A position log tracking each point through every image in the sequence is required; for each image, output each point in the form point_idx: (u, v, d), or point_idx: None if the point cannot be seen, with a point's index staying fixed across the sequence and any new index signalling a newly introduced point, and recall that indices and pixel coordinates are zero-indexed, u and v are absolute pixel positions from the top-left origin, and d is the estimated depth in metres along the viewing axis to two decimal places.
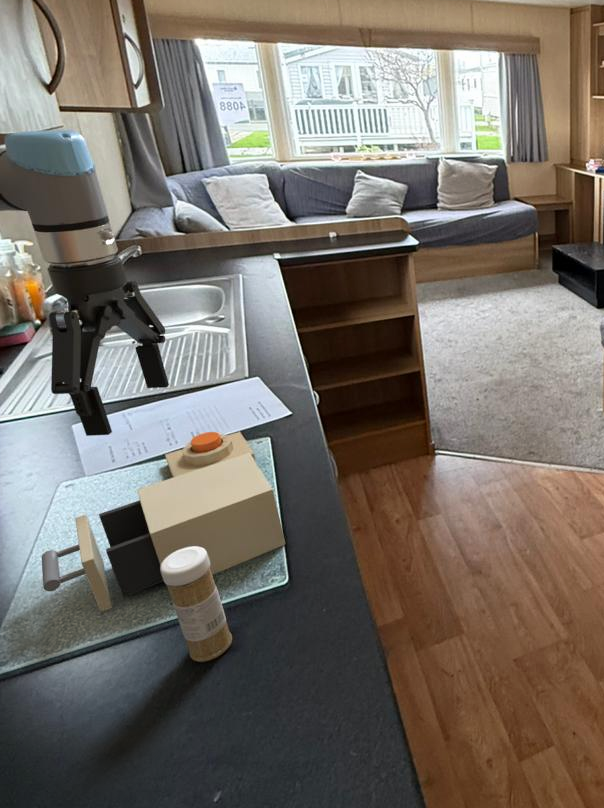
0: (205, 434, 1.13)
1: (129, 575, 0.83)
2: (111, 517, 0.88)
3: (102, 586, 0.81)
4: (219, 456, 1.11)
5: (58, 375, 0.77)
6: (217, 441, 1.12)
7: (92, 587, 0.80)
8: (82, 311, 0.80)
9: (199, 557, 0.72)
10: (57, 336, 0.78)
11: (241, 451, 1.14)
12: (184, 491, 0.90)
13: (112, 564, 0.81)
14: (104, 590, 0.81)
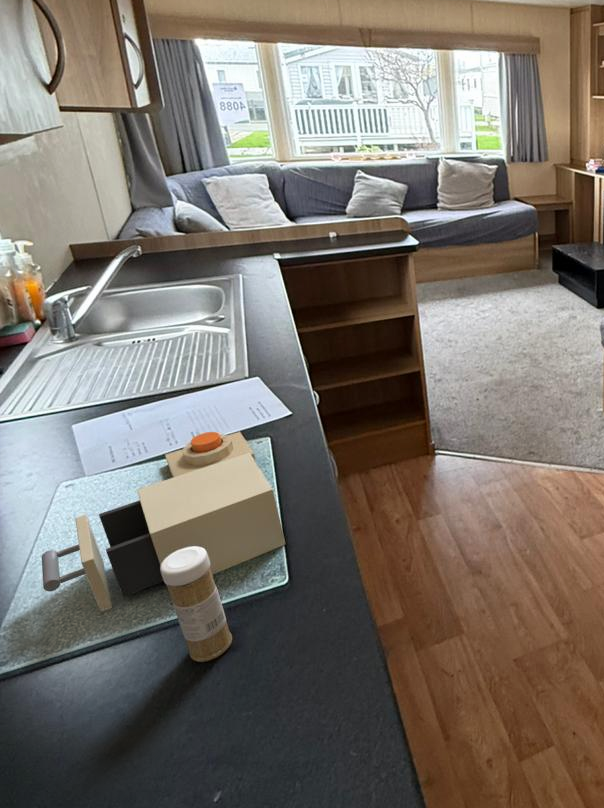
0: (205, 434, 1.13)
1: (129, 575, 0.83)
2: (111, 517, 0.88)
3: (102, 586, 0.81)
4: (219, 456, 1.11)
5: None
6: (217, 441, 1.12)
7: (92, 587, 0.80)
8: None
9: (199, 557, 0.72)
10: None
11: (241, 451, 1.14)
12: (184, 491, 0.90)
13: (112, 564, 0.81)
14: (104, 590, 0.81)
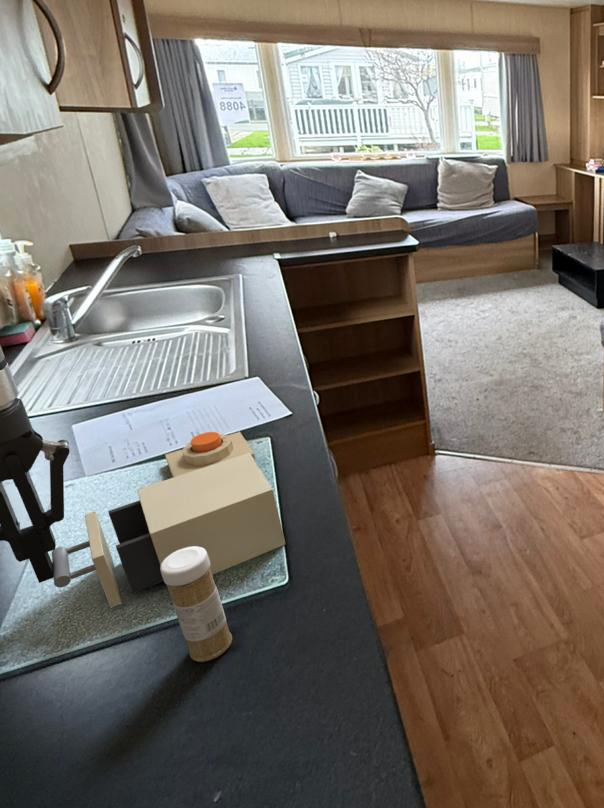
0: (205, 434, 1.13)
1: (139, 571, 0.84)
2: (120, 514, 0.89)
3: (112, 582, 0.81)
4: (219, 456, 1.11)
5: None
6: (217, 441, 1.12)
7: (102, 583, 0.81)
8: None
9: (199, 557, 0.72)
10: None
11: (241, 451, 1.14)
12: (184, 491, 0.90)
13: (122, 560, 0.82)
14: (114, 586, 0.82)
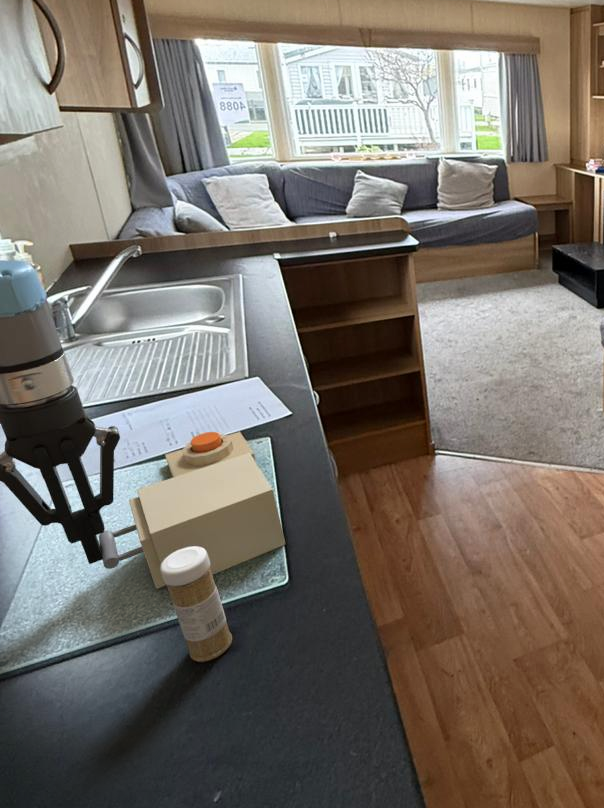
0: (205, 434, 1.13)
1: None
2: None
3: (158, 564, 0.84)
4: (219, 456, 1.11)
5: None
6: (217, 441, 1.12)
7: (149, 565, 0.84)
8: (6, 450, 0.75)
9: (199, 557, 0.72)
10: None
11: (241, 451, 1.14)
12: (184, 491, 0.90)
13: None
14: None
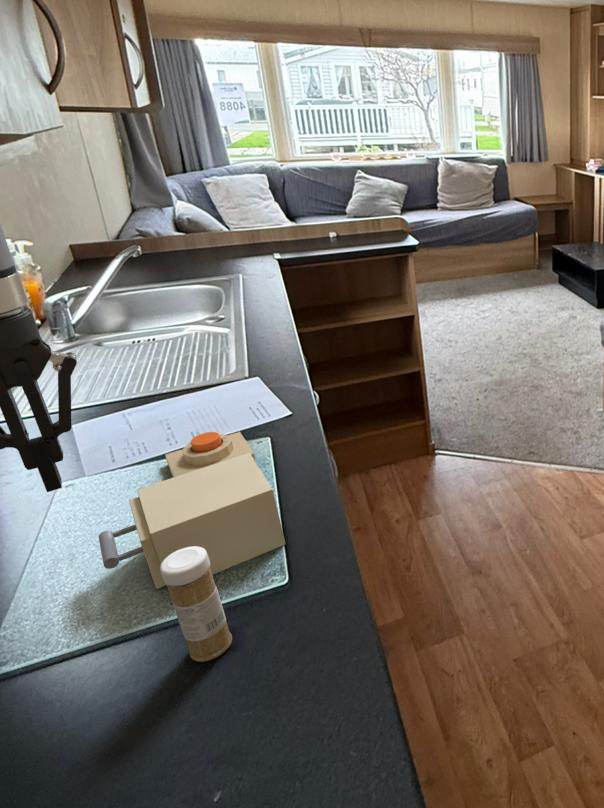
0: (205, 434, 1.13)
1: None
2: None
3: (158, 564, 0.84)
4: (219, 456, 1.11)
5: None
6: (217, 441, 1.12)
7: (149, 565, 0.84)
8: None
9: (199, 557, 0.72)
10: None
11: (241, 451, 1.14)
12: (184, 491, 0.90)
13: None
14: None
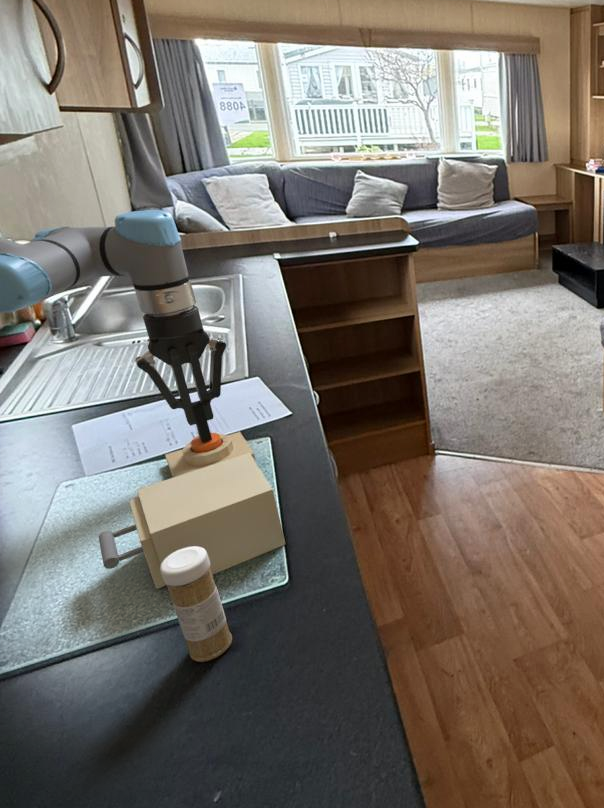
0: None
1: None
2: None
3: (158, 564, 0.84)
4: (219, 456, 1.11)
5: None
6: (218, 442, 1.12)
7: (149, 565, 0.84)
8: (150, 349, 1.02)
9: (199, 557, 0.72)
10: None
11: (241, 451, 1.14)
12: (184, 491, 0.90)
13: None
14: None
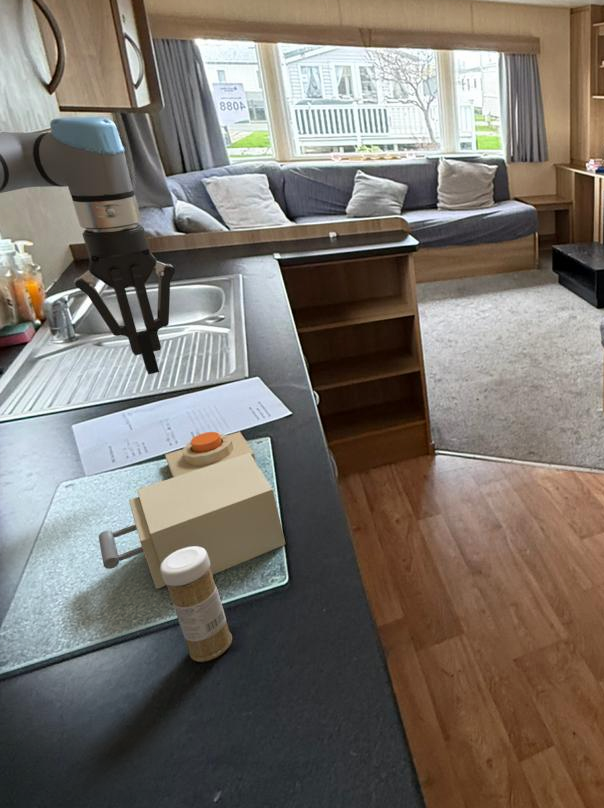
0: (205, 434, 1.13)
1: None
2: None
3: (158, 564, 0.84)
4: (219, 456, 1.11)
5: None
6: (217, 441, 1.12)
7: (149, 565, 0.84)
8: (90, 268, 0.95)
9: (199, 557, 0.72)
10: None
11: (241, 451, 1.14)
12: (184, 491, 0.90)
13: None
14: None
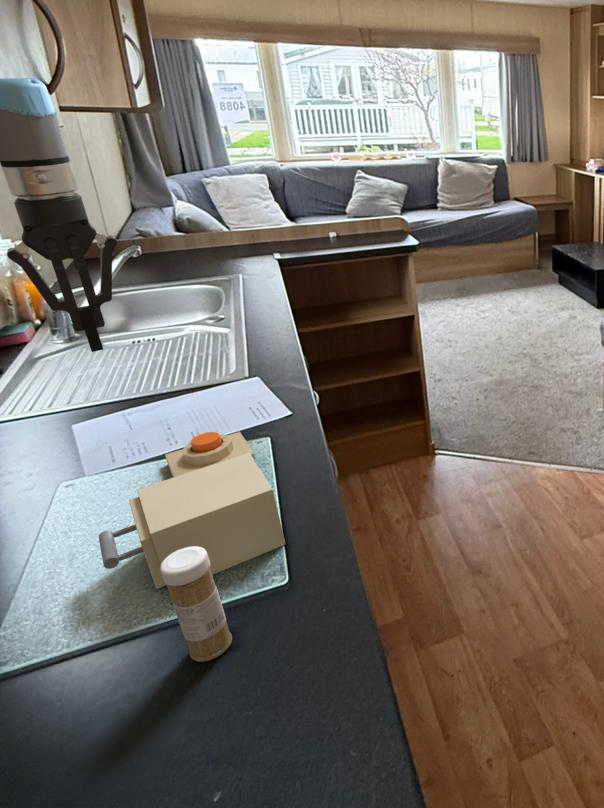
0: (205, 434, 1.13)
1: None
2: None
3: (158, 564, 0.84)
4: (219, 456, 1.11)
5: None
6: (217, 441, 1.12)
7: (149, 565, 0.84)
8: (23, 239, 0.91)
9: (199, 557, 0.72)
10: None
11: (241, 451, 1.14)
12: (184, 491, 0.90)
13: None
14: None
